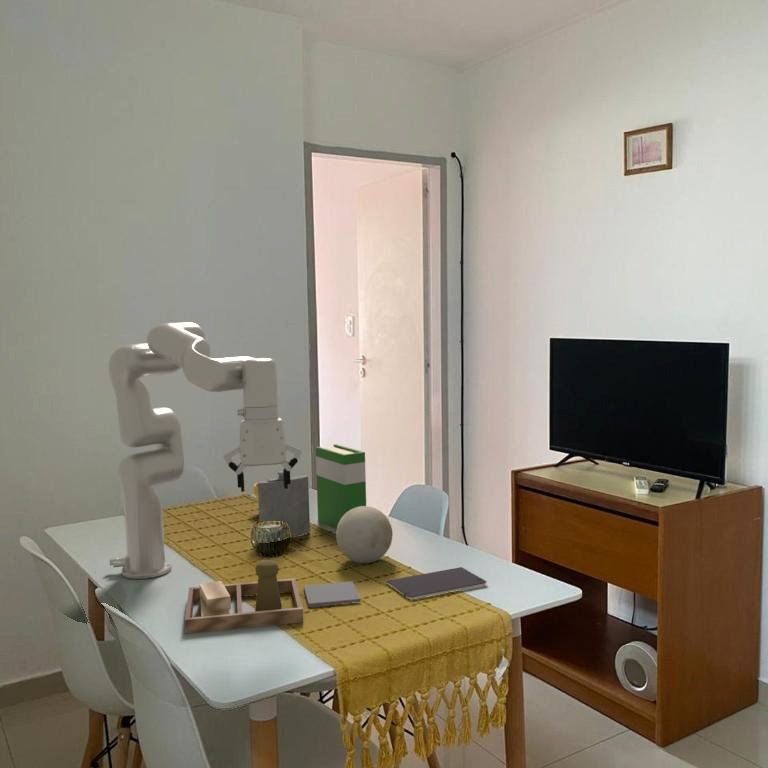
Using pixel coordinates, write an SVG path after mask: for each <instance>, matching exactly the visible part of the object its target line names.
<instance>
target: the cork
mask: <svg viewBox="0 0 768 768" xmlns="http://www.w3.org/2000/svg"><path fill="white" fill-rule="evenodd" d="M255 574H256V576H257V582H258V586H257V595H256V596H255V597H256V599H255V608H254V609H255V612H256V611H267V610H278V609H281V608H282V607H283V606H282V601H281V596H280V595H281V593H279V588H278V582H277V580H278V577H277V575H278V574H279V564H278V563H277V561H275V560H271V559H270V560H269V559H265V560H261V561H258V563H257V564H256V565H255ZM282 609H283V608H282Z"/></svg>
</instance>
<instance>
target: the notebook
mask: <svg viewBox="0 0 768 768" xmlns="http://www.w3.org/2000/svg"><path fill="white" fill-rule="evenodd" d="M387 583H388V584H389V585H391V586H392V587H393V588H395V589H396V590H397V591H398V592H400V593H401V594H403V595H404V596H403V595H402V596H403V598H404V597H407V598H409V599H415V598H421V597H426V596H430V595H436V594H442V593H446V592H450V591H456V590H458V591H459V592H463V591H469V590H474V589H479V588H485V587H486V585H487V584H486V583H487V580H484V578H481V577H480V576H479V575H476V574H474V573H472V572H471V571H469V570H467V569H466V568H464V567H459V566H458V567H454V568H449V569H442V570H437V571H433V572H427V573H421V574H414V575H411V576H405V577H399V578H394V579H389V580H386V584H387ZM388 584H387V585H388ZM389 585H388V586H389ZM392 587H391V588H392ZM393 588H392V589H393ZM396 590H395V591H396ZM397 591H396V592H397ZM398 592H397V593H398ZM400 593H399V594H400ZM401 594H400V595H401ZM407 598H406V599H407Z"/></svg>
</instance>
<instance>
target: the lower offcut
mask: <svg viewBox="0 0 768 768" xmlns="http://www.w3.org/2000/svg"><path fill="white" fill-rule="evenodd" d="M200 614H201V615H200V617H203V616H213V615H224V614H231V613H230V610H224V611H217V612H211V613H208V612H207V610H206V608H205V606H204V604H203V602H202V600H201V598H200Z"/></svg>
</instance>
